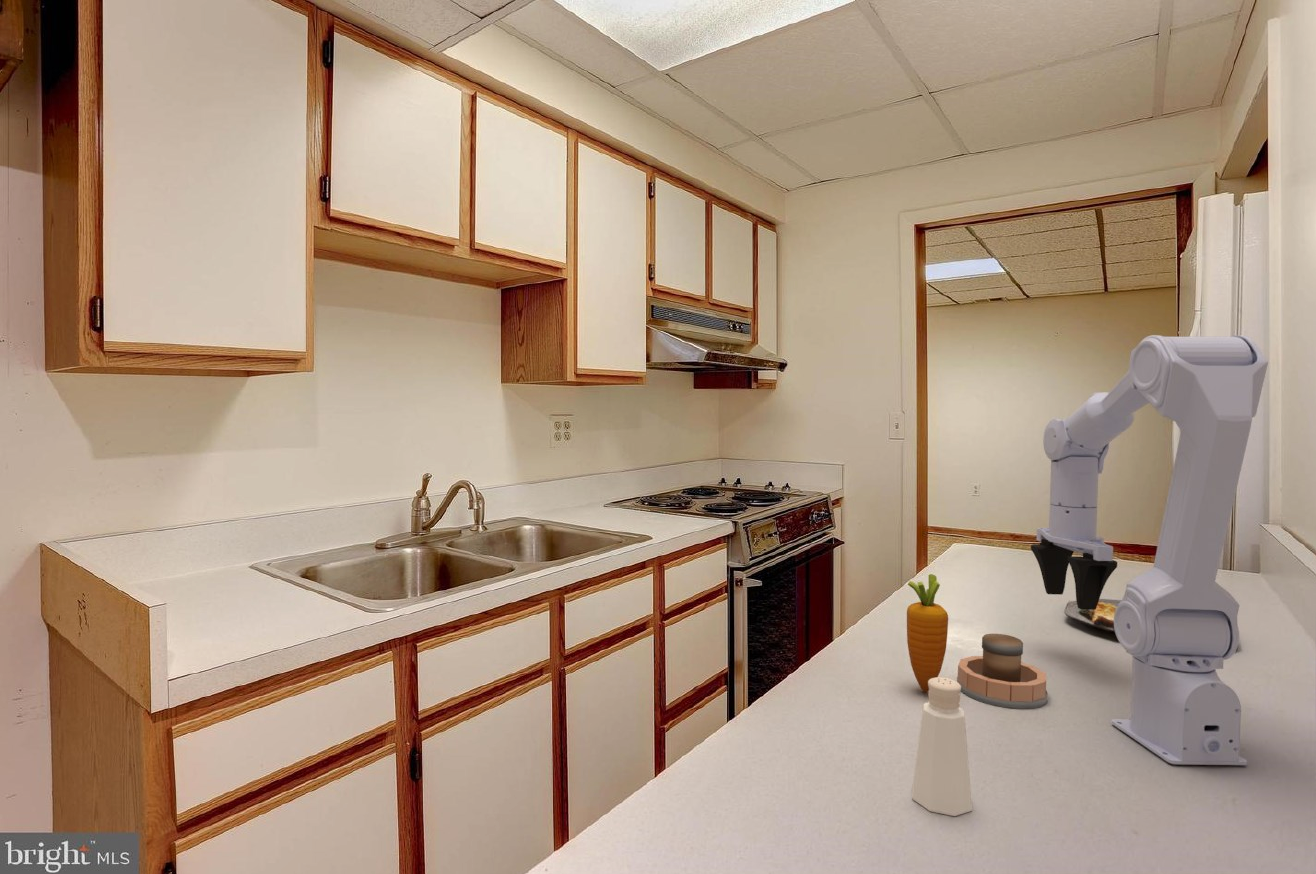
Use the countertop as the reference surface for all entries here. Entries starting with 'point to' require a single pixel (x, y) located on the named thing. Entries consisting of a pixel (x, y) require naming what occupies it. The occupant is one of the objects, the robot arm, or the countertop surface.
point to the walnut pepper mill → (1002, 657)
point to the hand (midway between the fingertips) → (1070, 601)
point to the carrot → (926, 633)
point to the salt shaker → (942, 752)
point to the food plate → (1094, 614)
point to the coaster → (1002, 686)
